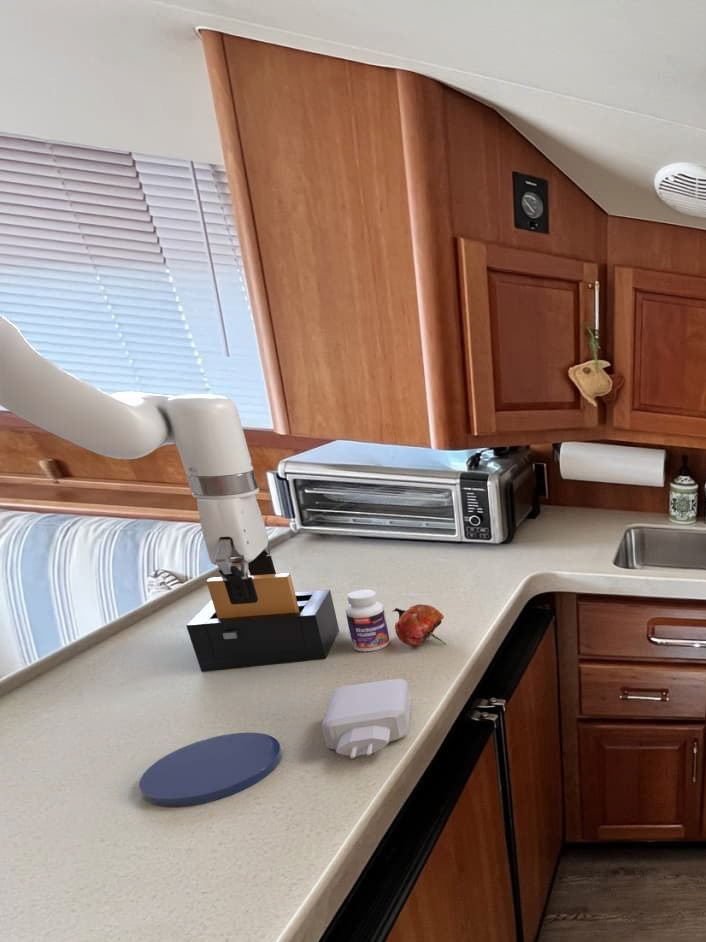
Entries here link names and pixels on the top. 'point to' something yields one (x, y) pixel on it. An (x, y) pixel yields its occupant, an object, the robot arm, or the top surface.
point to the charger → (367, 716)
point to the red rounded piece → (417, 624)
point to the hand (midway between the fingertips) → (255, 590)
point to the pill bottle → (366, 621)
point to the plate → (210, 769)
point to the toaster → (265, 635)
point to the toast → (270, 591)
